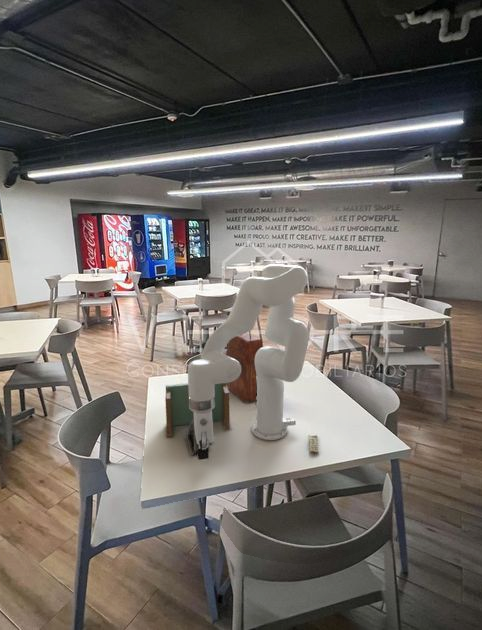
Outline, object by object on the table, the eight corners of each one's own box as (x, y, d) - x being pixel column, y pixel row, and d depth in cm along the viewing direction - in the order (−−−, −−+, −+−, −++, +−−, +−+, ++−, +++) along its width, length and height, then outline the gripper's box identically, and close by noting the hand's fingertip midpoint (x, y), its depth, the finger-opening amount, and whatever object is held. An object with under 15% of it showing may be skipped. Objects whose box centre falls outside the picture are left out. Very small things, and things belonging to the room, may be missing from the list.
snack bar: (319, 452, 108) (310, 448, 108) (317, 456, 108) (308, 452, 108) (317, 435, 117) (309, 432, 117) (315, 438, 118) (308, 435, 118)
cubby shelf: (226, 417, 130) (225, 380, 127) (229, 429, 122) (229, 389, 119) (167, 424, 125) (165, 385, 122) (167, 437, 116) (165, 395, 113)
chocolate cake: (214, 455, 108) (215, 417, 114) (193, 453, 105) (195, 415, 111) (204, 461, 114) (206, 425, 121) (184, 460, 112) (187, 424, 118)
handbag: (245, 404, 141) (246, 323, 134) (225, 387, 158) (225, 315, 150) (266, 398, 147) (268, 321, 140) (245, 383, 163) (245, 312, 156)
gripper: (218, 412, 92) (218, 471, 95) (211, 390, 106) (212, 442, 110) (190, 415, 90) (191, 475, 94) (187, 392, 104) (189, 445, 108)
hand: (203, 457), depth 102 cm, fingers closed
